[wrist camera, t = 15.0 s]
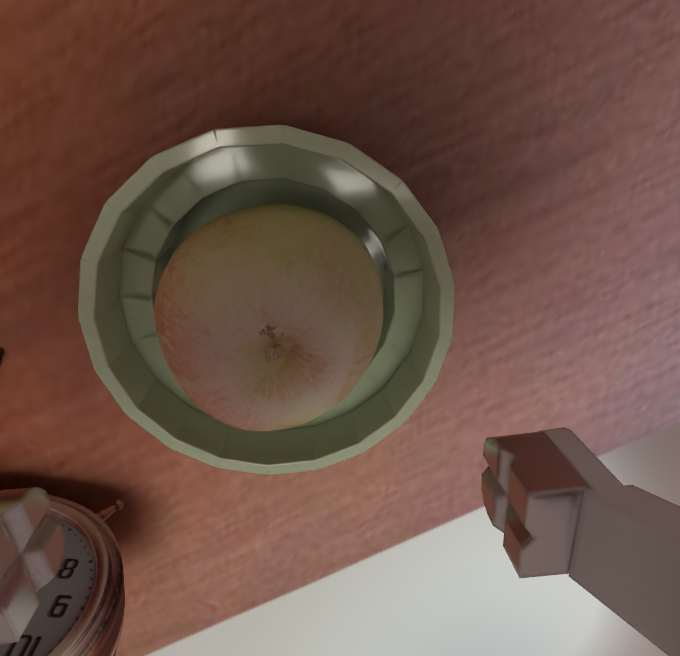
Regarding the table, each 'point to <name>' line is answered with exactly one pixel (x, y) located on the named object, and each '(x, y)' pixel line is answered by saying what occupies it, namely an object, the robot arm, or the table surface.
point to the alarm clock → (78, 590)
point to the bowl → (240, 193)
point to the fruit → (269, 315)
